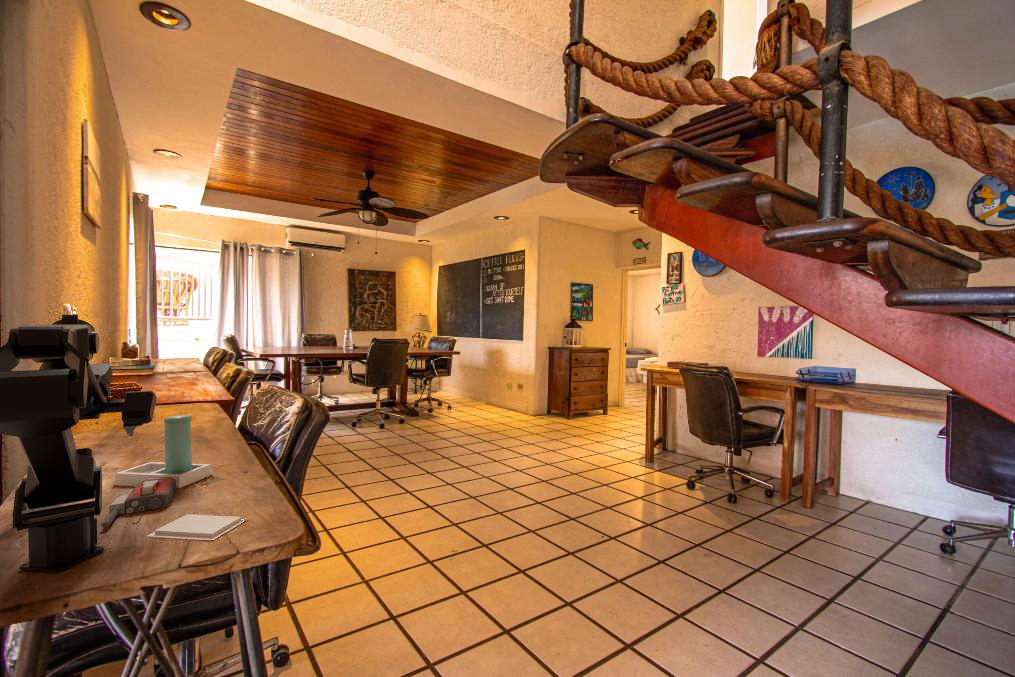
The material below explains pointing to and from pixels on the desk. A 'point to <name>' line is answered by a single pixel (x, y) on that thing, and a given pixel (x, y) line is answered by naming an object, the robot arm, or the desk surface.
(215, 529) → the lid
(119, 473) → the housing
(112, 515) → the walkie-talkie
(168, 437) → the green banded cylinder
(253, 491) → the desk surface
